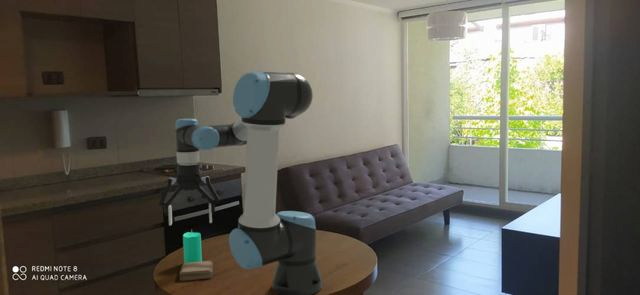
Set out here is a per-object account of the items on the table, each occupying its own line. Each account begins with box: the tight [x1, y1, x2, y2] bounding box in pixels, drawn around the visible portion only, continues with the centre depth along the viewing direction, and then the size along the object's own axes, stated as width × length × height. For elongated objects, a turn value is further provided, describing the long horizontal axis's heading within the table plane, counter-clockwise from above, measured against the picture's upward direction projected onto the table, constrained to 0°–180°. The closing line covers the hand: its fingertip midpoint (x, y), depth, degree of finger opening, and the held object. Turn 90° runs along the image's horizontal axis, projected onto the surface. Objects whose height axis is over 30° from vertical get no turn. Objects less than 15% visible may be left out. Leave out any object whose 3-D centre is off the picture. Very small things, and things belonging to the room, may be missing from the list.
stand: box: [179, 260, 214, 282], centre depth 152 cm, size 10×10×2 cm
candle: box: [182, 229, 203, 264], centre depth 162 cm, size 6×6×12 cm
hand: (190, 223), depth 161 cm, fingers open, 13 cm apart
